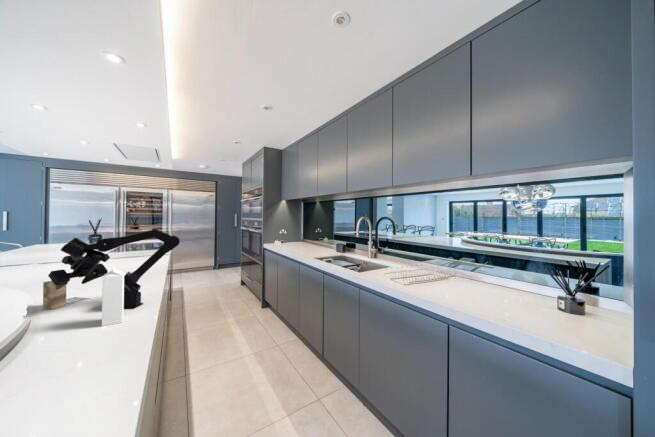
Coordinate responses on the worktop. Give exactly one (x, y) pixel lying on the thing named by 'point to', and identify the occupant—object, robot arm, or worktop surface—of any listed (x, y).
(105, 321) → the milk
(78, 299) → the tile
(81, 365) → the worktop surface
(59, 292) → the oak block
